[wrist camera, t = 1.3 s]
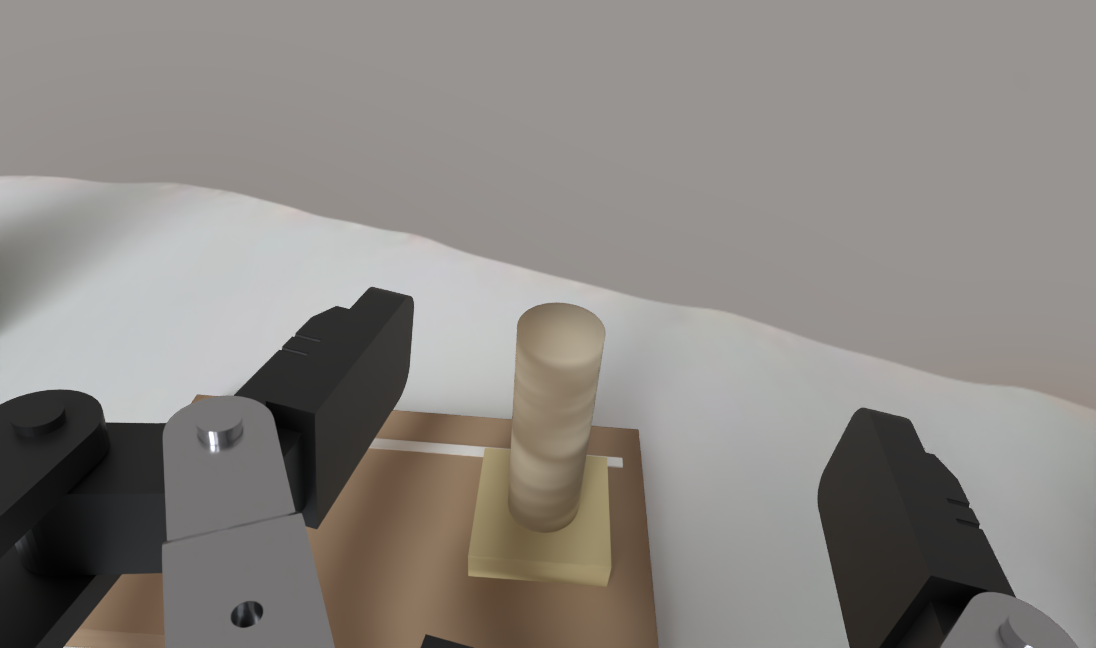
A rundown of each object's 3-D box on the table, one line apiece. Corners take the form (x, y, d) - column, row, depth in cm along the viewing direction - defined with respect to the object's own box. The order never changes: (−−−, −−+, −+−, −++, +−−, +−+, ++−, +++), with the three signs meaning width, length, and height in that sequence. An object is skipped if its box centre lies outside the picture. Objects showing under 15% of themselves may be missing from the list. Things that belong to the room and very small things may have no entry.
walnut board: (634, 448, 37) (638, 428, 36) (654, 690, 27) (661, 671, 26) (203, 414, 37) (196, 393, 36) (57, 645, 27) (41, 624, 26)
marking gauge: (603, 477, 34) (638, 288, 27) (607, 586, 29) (650, 392, 22) (484, 468, 34) (488, 276, 27) (468, 576, 29) (467, 377, 22)
